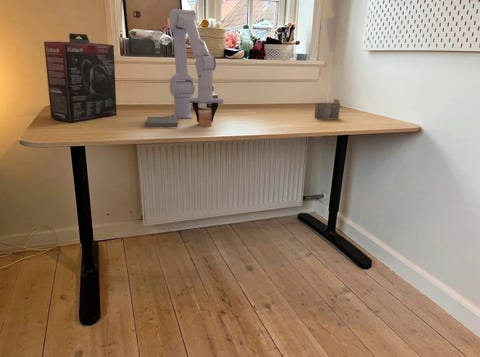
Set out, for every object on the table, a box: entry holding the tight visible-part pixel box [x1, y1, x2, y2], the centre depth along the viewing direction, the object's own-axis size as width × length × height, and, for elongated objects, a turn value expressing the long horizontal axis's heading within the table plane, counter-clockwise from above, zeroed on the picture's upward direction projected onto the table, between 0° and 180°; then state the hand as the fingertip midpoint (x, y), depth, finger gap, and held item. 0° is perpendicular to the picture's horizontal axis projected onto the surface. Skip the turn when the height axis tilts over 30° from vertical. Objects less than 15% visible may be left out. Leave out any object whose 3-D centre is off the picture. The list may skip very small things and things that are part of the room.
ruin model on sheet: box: [313, 98, 341, 119], centre depth 183 cm, size 11×3×10 cm, turn 102°
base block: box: [145, 116, 179, 128], centre depth 154 cm, size 12×12×2 cm
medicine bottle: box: [198, 84, 219, 110], centre depth 196 cm, size 7×7×12 cm
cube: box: [197, 111, 213, 127], centre depth 156 cm, size 5×5×5 cm
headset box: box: [43, 32, 117, 123], centre depth 156 cm, size 24×13×33 cm, turn 152°
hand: (204, 121), depth 156 cm, fingers closed on cube, 5 cm apart
